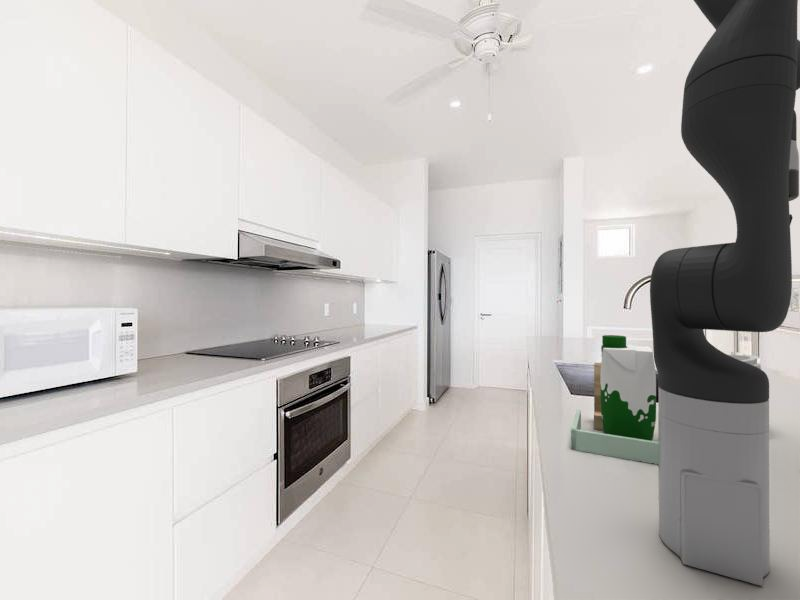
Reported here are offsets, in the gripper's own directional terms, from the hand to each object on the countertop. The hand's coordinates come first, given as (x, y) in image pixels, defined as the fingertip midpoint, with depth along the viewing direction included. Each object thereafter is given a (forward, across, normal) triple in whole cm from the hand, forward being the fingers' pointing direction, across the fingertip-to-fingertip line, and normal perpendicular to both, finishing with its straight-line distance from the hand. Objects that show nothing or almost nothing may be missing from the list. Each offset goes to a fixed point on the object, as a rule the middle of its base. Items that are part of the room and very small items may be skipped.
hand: (766, 276), depth 63 cm
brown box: (+31, +4, +21) cm, 38 cm away
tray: (+31, -5, +20) cm, 37 cm away
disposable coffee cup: (+31, +16, +2) cm, 35 cm away
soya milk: (+31, -3, +20) cm, 37 cm away
